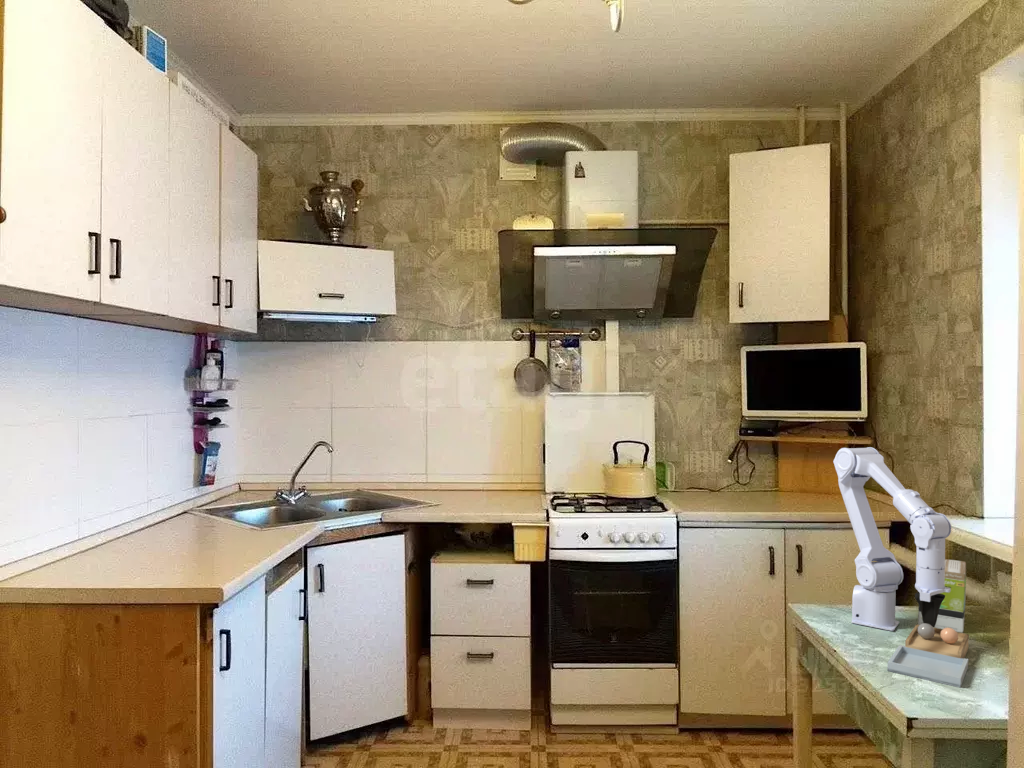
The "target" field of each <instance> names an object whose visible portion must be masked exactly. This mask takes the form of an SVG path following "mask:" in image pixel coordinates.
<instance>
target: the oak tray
mask: <svg viewBox="0 0 1024 768" xmlns="http://www.w3.org/2000/svg"><path fill="white" fill-rule="evenodd" d="M918 626H919V625H918V623H916V624H915V626H914V627H913V628H912V630H911V632H909V634H908V636H907V638H906V639H905V645H904V646H905V647H908V648H913V649H918V650H923V651H927V652H932V653H937V654H942V655H947V656H951V657H956V658H965V657H966V656H967V653H968V650H969V649H970V648H969V647H970V646H969V640H970V639H969V638H970V637H969V635H970V634H968V633H964V632H957V634H958V640H957V641H956V642H955V643H953V644H949V643H946V642H944V641H943V640H942V638H941V635H940V633H941V631H942V629H938V628H934V630H935V635H934V636H933V637H932V638H931V639H924V638H922V637H921V636H920V635H919V634H918ZM965 659H966V658H965Z"/></svg>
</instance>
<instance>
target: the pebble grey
mask: <svg viewBox="0 0 1024 768" xmlns="http://www.w3.org/2000/svg"><path fill="white" fill-rule="evenodd" d="M918 634H919V635H920V636H921V637H922V638H924V639H931V638H932V637H933V636H934V635H935V630H934V628H933V627H932V626H931V625H930V624H927V623H922V624H920V625H919V626H918Z"/></svg>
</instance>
